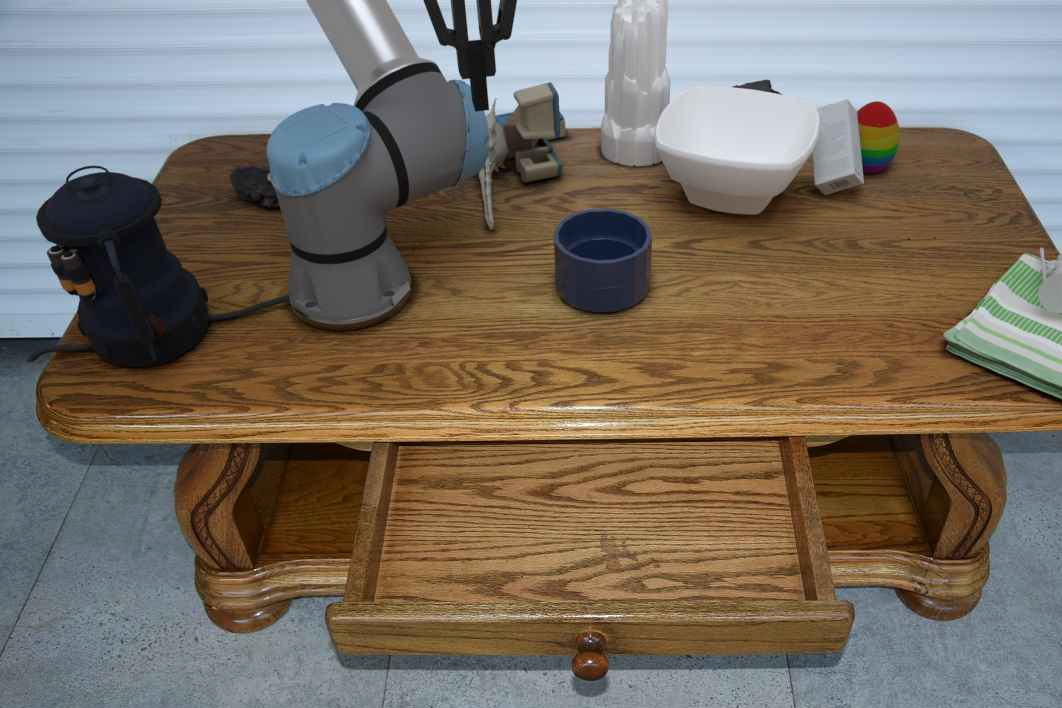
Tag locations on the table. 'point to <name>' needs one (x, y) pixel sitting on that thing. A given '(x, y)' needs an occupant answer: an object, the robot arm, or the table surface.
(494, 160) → the seashell
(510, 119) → the wooden block
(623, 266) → the glazed bowl
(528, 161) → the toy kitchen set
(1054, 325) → the dish towel
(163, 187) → the table surface
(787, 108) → the bowl
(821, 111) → the cosmetic box
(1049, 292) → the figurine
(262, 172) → the rock
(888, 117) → the decorative egg
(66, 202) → the dark blue bag
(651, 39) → the decorative vase
